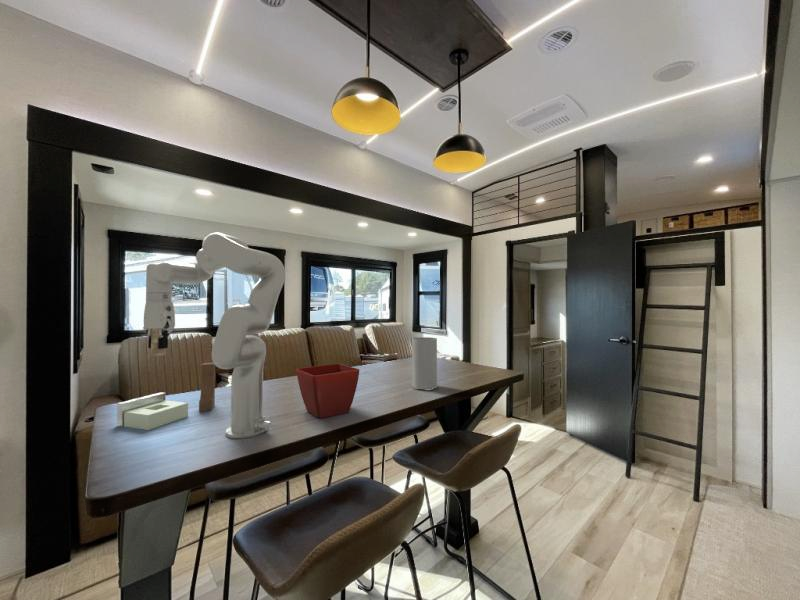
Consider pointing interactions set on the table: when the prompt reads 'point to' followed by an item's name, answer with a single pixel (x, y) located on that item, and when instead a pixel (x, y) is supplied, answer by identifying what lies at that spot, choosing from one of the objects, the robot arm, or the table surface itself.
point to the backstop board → (136, 405)
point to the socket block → (155, 415)
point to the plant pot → (328, 388)
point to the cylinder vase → (424, 362)
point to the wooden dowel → (156, 343)
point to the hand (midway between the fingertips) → (158, 347)
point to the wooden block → (207, 387)
